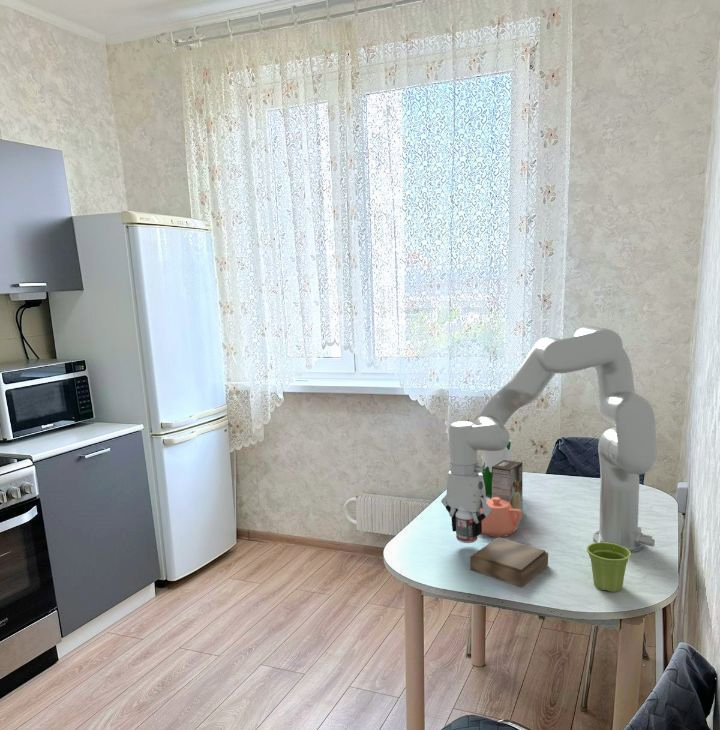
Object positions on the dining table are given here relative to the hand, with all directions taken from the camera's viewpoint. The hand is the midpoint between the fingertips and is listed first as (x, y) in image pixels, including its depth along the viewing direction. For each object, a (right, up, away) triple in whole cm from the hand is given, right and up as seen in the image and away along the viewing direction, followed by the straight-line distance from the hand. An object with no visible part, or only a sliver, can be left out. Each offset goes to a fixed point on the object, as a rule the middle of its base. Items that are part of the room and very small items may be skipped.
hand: (466, 531), depth 158 cm
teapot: (+10, -3, +12) cm, 16 cm away
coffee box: (+17, -1, +22) cm, 28 cm away
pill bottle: (0, -2, 0) cm, 2 cm away
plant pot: (+29, -7, -22) cm, 37 cm away
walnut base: (+9, -6, -12) cm, 16 cm away
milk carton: (+18, +1, +41) cm, 45 cm away
